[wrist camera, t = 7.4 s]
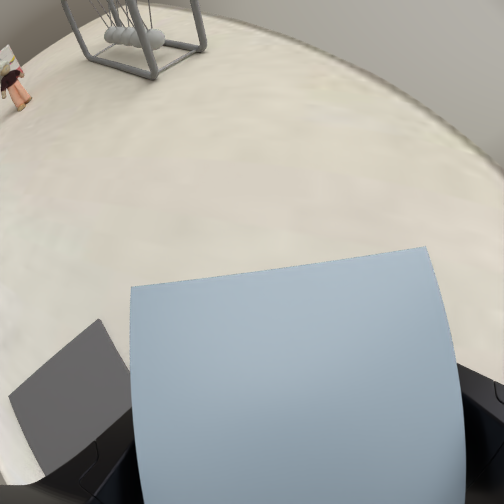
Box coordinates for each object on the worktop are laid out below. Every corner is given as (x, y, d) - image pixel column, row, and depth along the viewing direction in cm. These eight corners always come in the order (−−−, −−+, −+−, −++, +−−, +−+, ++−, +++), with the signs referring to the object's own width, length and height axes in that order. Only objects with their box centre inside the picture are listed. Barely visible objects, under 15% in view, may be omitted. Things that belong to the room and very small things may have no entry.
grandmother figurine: (23, 111, 42) (-4, 68, 31) (12, 117, 42) (-15, 76, 31) (38, 89, 45) (15, 49, 34) (27, 95, 46) (3, 56, 34)
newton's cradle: (210, 52, 39) (190, -45, 23) (157, 83, 36) (120, -22, 20) (124, 37, 50) (103, -24, 34) (86, 60, 47) (58, -2, 31)
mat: (218, 491, 16) (217, 492, 15) (96, 543, 13) (94, 545, 12) (100, 319, 22) (98, 318, 21) (11, 396, 19) (8, 396, 19)
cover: (365, 455, 12) (463, 517, 3) (229, 474, 13) (159, 564, 4) (348, 330, 15) (425, 246, 6) (216, 348, 16) (131, 286, 7)
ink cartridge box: (23, 72, 57) (5, 39, 43) (11, 83, 55) (-9, 49, 42) (22, 68, 60) (5, 37, 47) (10, 78, 59) (-8, 47, 46)
